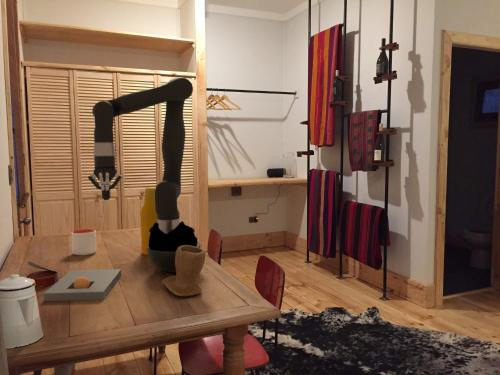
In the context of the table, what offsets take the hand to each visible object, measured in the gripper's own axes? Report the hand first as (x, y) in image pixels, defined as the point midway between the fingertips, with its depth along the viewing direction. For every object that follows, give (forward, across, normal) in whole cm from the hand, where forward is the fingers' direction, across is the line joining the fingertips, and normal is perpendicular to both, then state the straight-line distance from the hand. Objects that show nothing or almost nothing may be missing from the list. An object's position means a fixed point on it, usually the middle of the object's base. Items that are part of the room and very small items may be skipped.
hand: (106, 199), depth 162 cm
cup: (+27, +17, -25) cm, 41 cm away
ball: (+24, +2, +26) cm, 36 cm away
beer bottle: (+27, -13, -23) cm, 38 cm away
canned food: (+27, +19, +15) cm, 37 cm away
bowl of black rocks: (+27, -26, +6) cm, 38 cm away
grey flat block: (+27, +2, +22) cm, 35 cm away
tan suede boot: (+27, -32, +28) cm, 51 cm away
